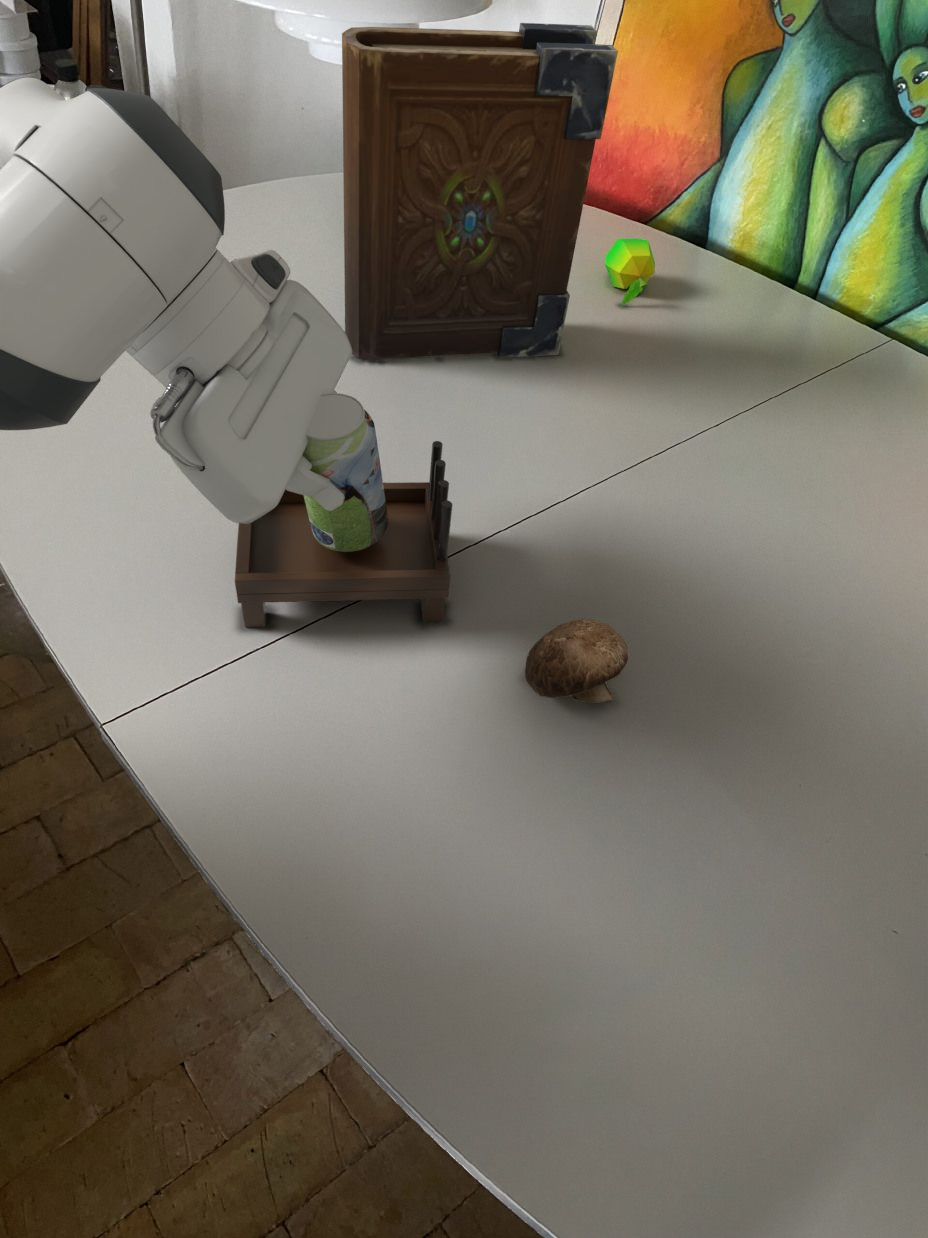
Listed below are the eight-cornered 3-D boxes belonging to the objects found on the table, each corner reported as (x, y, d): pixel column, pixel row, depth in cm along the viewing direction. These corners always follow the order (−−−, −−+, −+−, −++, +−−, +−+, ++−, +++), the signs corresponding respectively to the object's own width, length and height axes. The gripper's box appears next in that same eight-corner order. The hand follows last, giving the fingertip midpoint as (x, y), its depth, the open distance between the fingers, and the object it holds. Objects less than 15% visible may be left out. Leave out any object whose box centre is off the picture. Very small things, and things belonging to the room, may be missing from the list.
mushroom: (657, 704, 63) (629, 630, 60) (554, 747, 63) (523, 675, 61) (626, 660, 70) (601, 593, 68) (535, 698, 70) (506, 633, 68)
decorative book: (540, 321, 103) (591, 24, 80) (558, 355, 98) (618, 50, 76) (341, 330, 98) (337, 15, 75) (351, 366, 93) (350, 42, 71)
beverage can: (401, 544, 69) (410, 418, 60) (319, 576, 66) (316, 447, 57) (361, 499, 72) (364, 372, 64) (281, 527, 69) (272, 397, 60)
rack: (241, 629, 68) (225, 525, 60) (247, 532, 75) (234, 427, 67) (445, 623, 70) (456, 522, 62) (432, 529, 77) (441, 428, 69)
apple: (626, 214, 107) (655, 248, 101) (653, 246, 111) (682, 280, 106) (583, 258, 110) (608, 293, 104) (610, 287, 114) (637, 323, 109)
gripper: (169, 398, 49) (342, 555, 56) (282, 238, 62) (410, 380, 69) (110, 448, 52) (279, 590, 59) (229, 286, 66) (355, 417, 73)
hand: (350, 475), depth 64 cm, fingers closed on beverage can, 4 cm apart
